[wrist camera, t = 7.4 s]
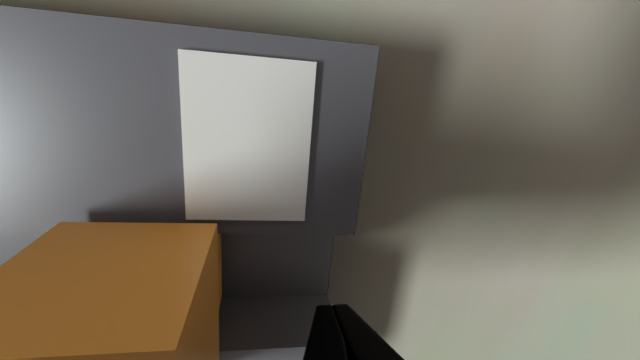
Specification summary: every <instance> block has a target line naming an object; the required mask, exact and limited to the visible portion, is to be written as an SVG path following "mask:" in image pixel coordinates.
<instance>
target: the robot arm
mask: <svg viewBox="0 0 640 360" xmlns="http://www.w3.org/2000/svg"><path fill="white" fill-rule="evenodd" d="M303 360H404V359H403V358H402V357H401V356H400V355H399V354H398V353H397V352H396V351H395V350H394V349H393V348H392V347H391V346H390V345H389V344H388V343H386V342H385V341H384V340H383V339H382V338H381V337H380V336H379V335H378V334H377V333H376V332H375V331H374V330H373V329H372V328H371V327H370V326H369V325H368V324H367V323H366V322H365V321H364V320H363V319H362V318H361V317H360V316H359V315H358V314H357V313H356V312H355V311H353V310H352V309H351V308H350V307H349V306H348V305H346V304H335V305H333V306H331V305H317V307H316V310H315V314H314V318H313V322H312V325H311V329H310V333H309V337H308V341H307V345H306V349H305V353H304V357H303Z"/></svg>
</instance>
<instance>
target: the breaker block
mask: <svg viewBox="0 0 640 360" xmlns="http://www.w3.org/2000/svg"><path fill="white" fill-rule="evenodd" d="M379 47H380V46H377V45H367V44H358V43H349V42H339V41H330V40H321V39H311V38H302V37H293V36H283V35H274V34H264V33H255V32H246V31H236V30H227V29H218V28H208V27H199V26H190V25H180V24H171V23H162V22H152V21H143V20H134V19H124V18H115V17H105V16H96V15H87V14H77V13H68V12H59V11H49V10H40V9H31V8H21V7H12V6H3V5H0V266H1V265H3V264H4V263H5V262H7V261H8V260H9V259H11V258H12V257H13V256H15V255H16V254H18V253H19V252H20V251H22V250H23V249H24V248H26V247H27V246H28V245H30V244H31V243H32V242H34V241H35V240H37V239H38V238H39V237H41V236H42V235H43V234H45V233H46V232H47V231H49V230H50V229H51V228H53V227H54V226H55V225H57V224H58V223H60V222H124V223H217V232H218V234H221V253H222V298H221V303H220V308H219V360H303V357H304V353H305V349H306V345H307V341H308V337H309V333H310V329H311V325H312V322H313V318H314V314H315V310H316V307H317V305H330V304H329V300H328V296H327V292H328V283H329V274H330V264H331V255H332V246H333V237H334V234H355V229H356V222H357V214H358V207H359V199H360V191H361V184H362V176H363V169H364V161H365V154H366V146H367V138H368V131H369V123H370V116H371V108H372V100H373V93H374V85H375V78H376V70H377V63H378V55H379Z"/></svg>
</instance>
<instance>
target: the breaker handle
mask: <svg viewBox="0 0 640 360" xmlns="http://www.w3.org/2000/svg"><path fill="white" fill-rule="evenodd" d="M221 298H222V253H221V234H218V232H217V223H124V222H60V223H58V224H57V225H55V226H54V227H53V228H51V229H50V230H49V231H47V232H46V233H45V234H43V235H42V236H41V237H39V238H38V239H37V240H35V241H34V242H32V243H31V244H30V245H28V246H27V247H26V248H24V249H23V250H22V251H20V252H19V253H18V254H16V255H15V256H13V257H12V258H11V259H9V260H8V261H7V262H5V263H4V264H3V265H1V266H0V360H219V308H220V303H221Z"/></svg>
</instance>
